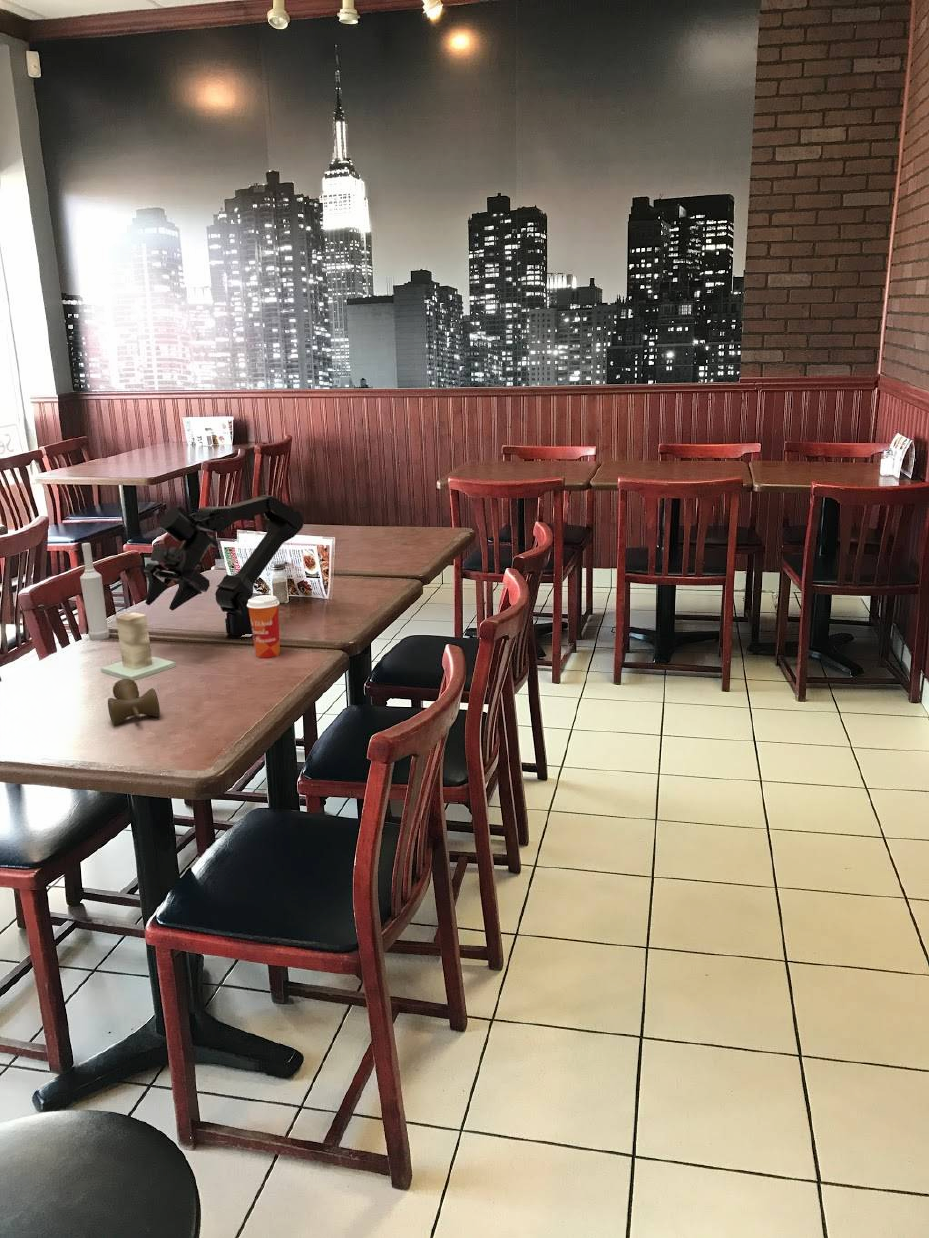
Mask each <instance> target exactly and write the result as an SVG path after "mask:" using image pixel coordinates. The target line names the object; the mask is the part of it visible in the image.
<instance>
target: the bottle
mask: <svg viewBox="0 0 929 1238" xmlns="http://www.w3.org/2000/svg"><path fill="white" fill-rule="evenodd" d="M91 547H92V546H91V543H90V542H83V543H81V549H82V552H83V553H82V555H83V561H84V562H83V563H84V568H85V569H84V572H83V573H82V574H81V576H79V579H80V584H81V585H80V586H81V590H82V596H83V598H82V599H83V602H84V609H85V615H86V621H87V625H88V626H87V627H88V637H89V640H91V641H101V640H105V639H108V638H110V629H109V628H108V620H107V611H106V604H105V603H106V602H105V595H104V585H103V576H102V574H101V573H99V572H98V571H97V570H96V569H95V568H94V562H93V554H92V548H91Z"/></svg>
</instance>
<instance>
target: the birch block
mask: <svg viewBox="0 0 929 1238" xmlns="http://www.w3.org/2000/svg"><path fill="white" fill-rule="evenodd" d="M147 619H148V618H147V614H142V613H140V612H139V613H138V612H133V611H132V612H130V613H126V614H123V615H118V616H116V617H115V621H116V627H117V628H116V629H117V635H118V641H119V648H120V656H121V661H122V664H123V667H127V668H130V669H134V670H136V669H139V668H142V667H146V666H149V665H152V664H153V663H152V650H151V643H150V636H149V627H148V621H147Z"/></svg>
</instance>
